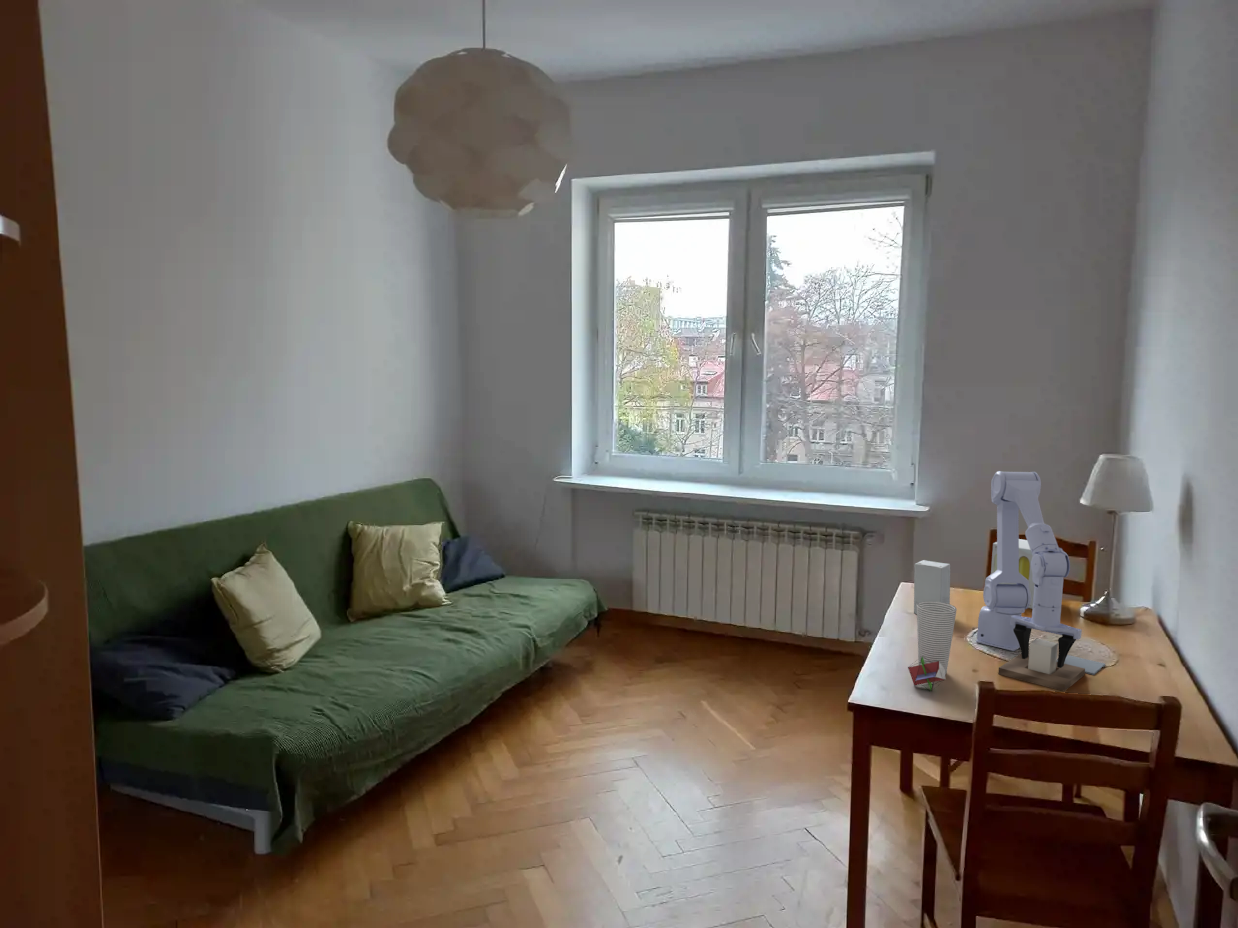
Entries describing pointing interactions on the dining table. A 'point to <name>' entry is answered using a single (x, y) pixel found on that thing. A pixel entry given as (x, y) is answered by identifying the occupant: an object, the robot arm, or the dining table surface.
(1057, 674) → the pocket board
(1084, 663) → the slate mat
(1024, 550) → the supplement box
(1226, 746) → the dining table surface
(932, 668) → the geometric puzzle
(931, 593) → the skincare box
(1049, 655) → the cream block
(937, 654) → the cup
